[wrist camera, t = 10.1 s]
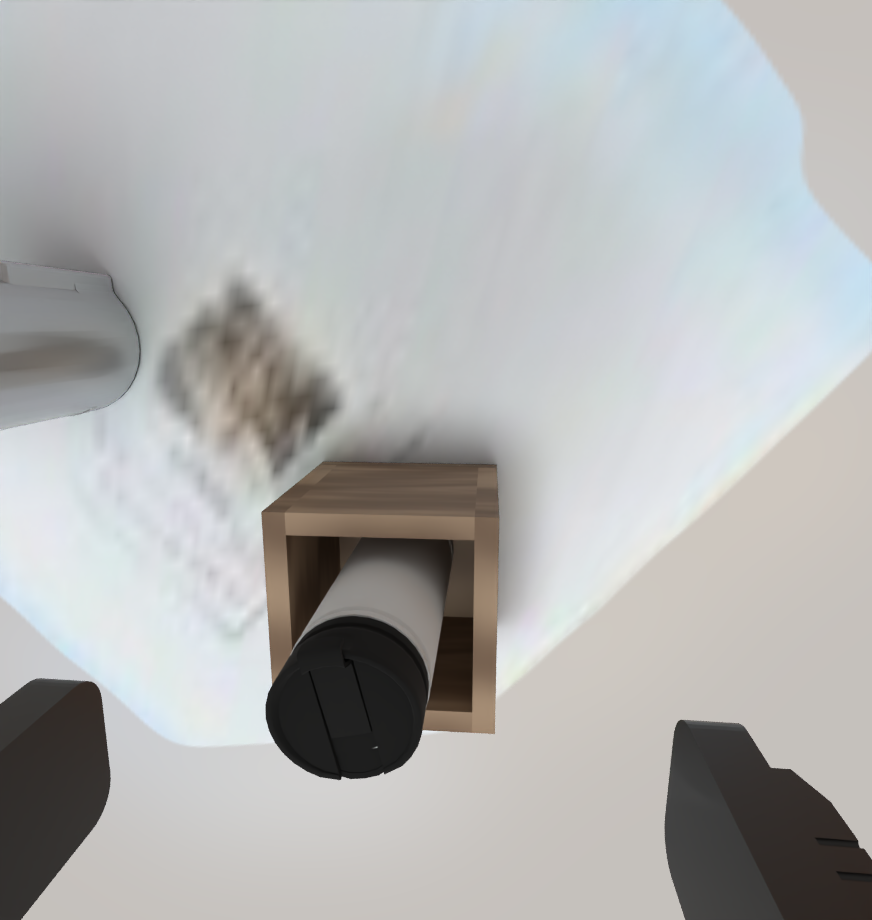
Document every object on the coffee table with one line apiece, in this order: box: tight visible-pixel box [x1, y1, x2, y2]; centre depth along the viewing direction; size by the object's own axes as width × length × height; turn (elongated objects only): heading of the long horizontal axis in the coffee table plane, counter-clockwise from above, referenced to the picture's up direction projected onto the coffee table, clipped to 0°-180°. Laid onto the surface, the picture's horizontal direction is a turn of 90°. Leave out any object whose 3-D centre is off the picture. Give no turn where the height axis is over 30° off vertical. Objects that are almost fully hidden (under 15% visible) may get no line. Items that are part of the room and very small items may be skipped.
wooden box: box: [261, 462, 499, 734], centre depth 38 cm, size 12×12×12 cm
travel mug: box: [266, 537, 454, 780], centre depth 33 cm, size 6×7×20 cm
